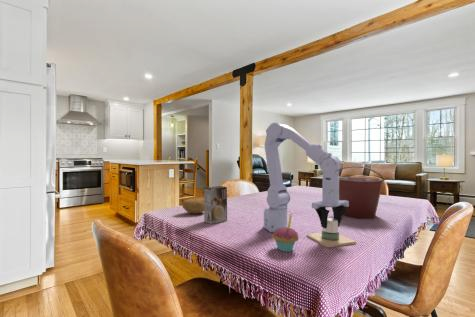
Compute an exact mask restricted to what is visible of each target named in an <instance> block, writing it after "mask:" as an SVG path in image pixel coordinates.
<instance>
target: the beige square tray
mask: <svg viewBox="0 0 475 317" xmlns="http://www.w3.org/2000/svg"><path fill="white" fill-rule="evenodd" d="M306 237H307V238H309V239H311V240H312V241H314V242H316V243H318V244H320V245H321V246H323V247H324V248H326V249H327V248H334V247H335V248H336V247H341V246H342V247H343V246H351V245H356V244H357V242H356V240H353V239H351V238H349V237H346V236H344V235H342V234H340V232H339V231H338V232H337V233H328V232H325V231H323V230H322V231H321V232H315V233H307V234H306Z"/></svg>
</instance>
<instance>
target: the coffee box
mask: <svg viewBox="0 0 475 317" xmlns="http://www.w3.org/2000/svg"><path fill="white" fill-rule="evenodd" d="M203 198H204V211H203V215H204V216H203V217H204V218H203V221H204V222H205V223H208V224H210V225H213V224H214V225H215V224H219V223H222V222H227V221H228V187H227V186H222V185H214V186H206V187H203Z"/></svg>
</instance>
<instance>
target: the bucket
mask: <svg viewBox="0 0 475 317" xmlns="http://www.w3.org/2000/svg"><path fill="white" fill-rule="evenodd" d="M348 168H349V169H350V168H357V169H358V168H362V169H365V170H367V171H371V172H373V173H374V174H377V175H378V176H380V178H375V177H366V176H365V177H364V176H363V177H359V176H358V177H357V176H339V200H346V201H349V206H344V207H345V208H346V212H345V213H344V215H343V217H347V218H352V219H358V220H369V219H370V220H373V219H375V217H376V215H377V210H378V205H379V202H380V201H379V200H380V197H381V192H382V187H383V182H385V181H386V178H385V176H384V175H383V174H382V173H380V172H379V171H377V170H374V169H372V168H369V167H367V166H359V165H358V166H357V165H354V166H344V167H341V168H340V170H339V173H340V172H341V171H342V170H345V169H348Z"/></svg>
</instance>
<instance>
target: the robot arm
mask: <svg viewBox="0 0 475 317" xmlns="http://www.w3.org/2000/svg"><path fill="white" fill-rule="evenodd" d="M265 132H266V136H265V139H264V152H265V159H266V163H267V164H266V165H267V171H268V178H269V187H268V189H267V190H266V191H267V196H266V203H267V205H268V206H269V207H267V208H265V209H264V210H263V226H262V227H263V228H264V229H266V230H267V231H268V232H270V233H273V231H275V230H276V229H277V228H283V227H288V204H289V203H290V201H291V195H290V193H289V191H288V187H287V186H286V185H285V184H284V181H283V174H282V168H281V167H282V166H281V161H280V153H279V147H280V145H281V144H282V143H283V142H285V141H286V140H291V141H292V142H293V143H295V144H296V145H297V146H298V147H300V148H301V149H303V150H304V151H305V155H306V156H307V158H308V159H310V160H312V162H314V163H315V164H317V166H319V168H320V170H321V171H322V185H321V186H322V191H321V194H322V195H321V196H322V197H321V199H322V200H320V201H315V202H311V208H312V209H315V211H316V213H317V215H318V218H319V222H320V226H321V228H322V229H323V228H327V218H329V213H330V210H329V209H328V208H331V209H332V215H333V219H337V220H338V228H339V227H340V225H341V221H342V219H343V217H344V216H343V215H344V213H345V212H346V208H345V207H344V206H349V201H346V200H339V177H340V172H339V170H340V168H342V162H341V160H340V159H339V157H338V156H333V153H332V152H328V151H327V150H325V149H324V148H323V146H322V144H317V143H311V142H309V141H308V140H307V139H306V138H305V137H304V136H303V135H302V134H300V132H298V131H296V129H294V128H293V127H290V125H288V124H283V123H278V122H272V123H270V124H269V126H268V127H267V129H266V130H265Z"/></svg>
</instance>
